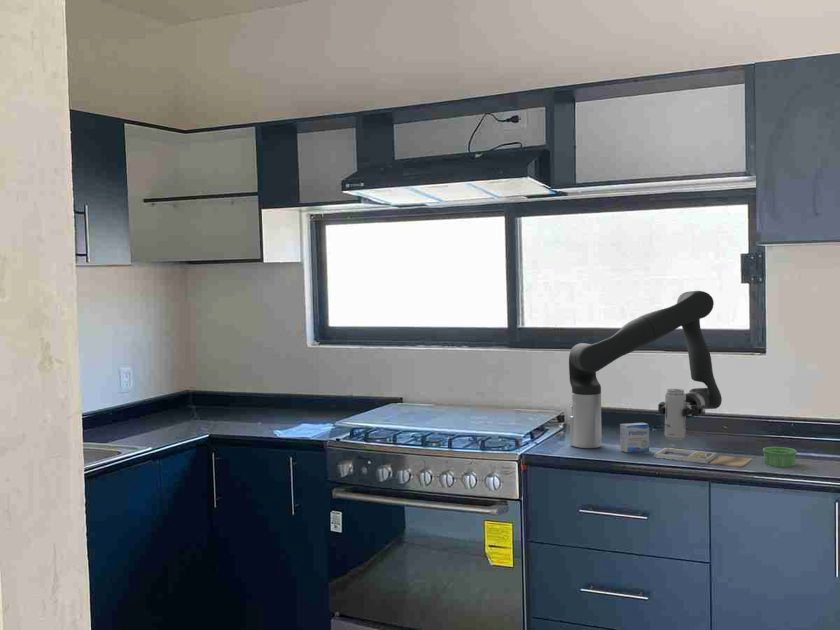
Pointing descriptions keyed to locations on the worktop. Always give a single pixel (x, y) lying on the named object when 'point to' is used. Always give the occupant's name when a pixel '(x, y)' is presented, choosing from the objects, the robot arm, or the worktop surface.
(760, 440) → the worktop surface
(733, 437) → the worktop surface
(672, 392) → the energy drink can
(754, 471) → the worktop surface
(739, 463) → the cork mat
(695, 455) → the parts tray
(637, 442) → the medicine box
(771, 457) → the ramekin
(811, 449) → the worktop surface
